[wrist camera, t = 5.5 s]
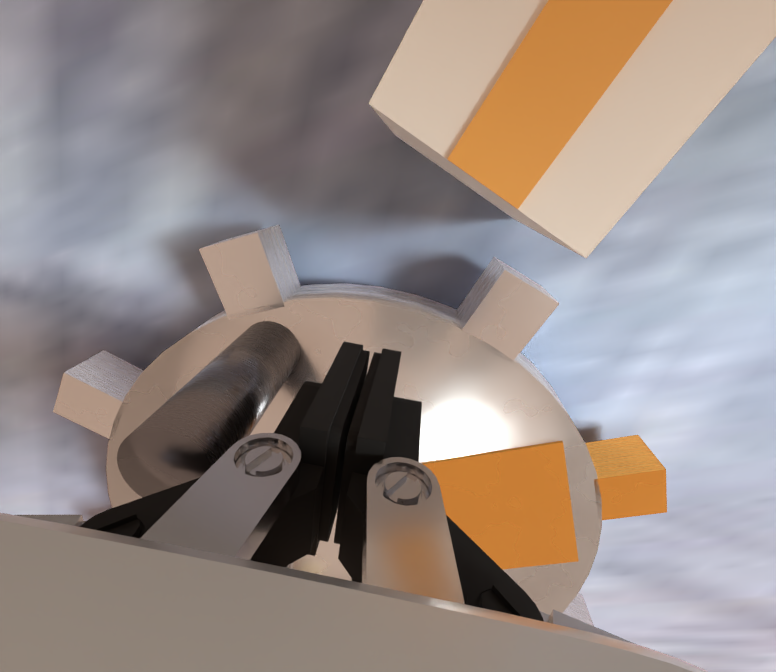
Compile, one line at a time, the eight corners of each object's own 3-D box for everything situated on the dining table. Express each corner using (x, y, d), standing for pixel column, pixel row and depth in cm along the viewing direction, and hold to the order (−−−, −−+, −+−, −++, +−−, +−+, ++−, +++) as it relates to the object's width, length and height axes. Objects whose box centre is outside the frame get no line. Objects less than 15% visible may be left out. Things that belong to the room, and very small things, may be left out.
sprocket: (-22, 307, 16) (-391, 422, 9) (622, 129, 12) (934, 63, 5) (221, 676, 25) (134, 892, 17) (648, 646, 21) (774, 913, 13)
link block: (487, -27, 12) (565, -271, 5) (617, 78, 12) (830, -23, 6) (395, 134, 14) (367, 102, 7) (513, 218, 14) (588, 259, 8)
